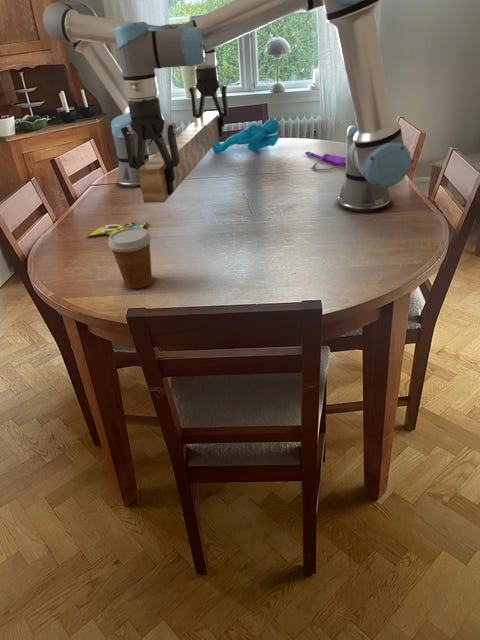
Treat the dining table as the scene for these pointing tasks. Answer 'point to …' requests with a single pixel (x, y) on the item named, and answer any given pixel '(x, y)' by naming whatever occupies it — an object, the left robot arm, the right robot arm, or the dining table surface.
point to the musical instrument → (328, 159)
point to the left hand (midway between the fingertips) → (213, 136)
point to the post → (190, 150)
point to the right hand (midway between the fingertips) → (159, 193)
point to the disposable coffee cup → (132, 255)
